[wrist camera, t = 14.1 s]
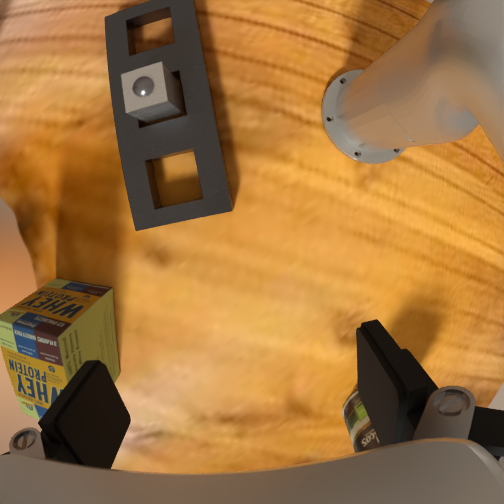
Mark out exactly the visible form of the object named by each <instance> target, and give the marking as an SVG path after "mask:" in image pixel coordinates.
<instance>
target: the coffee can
mask: <svg viewBox="0 0 504 504" xmlns="http://www.w3.org/2000/svg"><path fill="white" fill-rule="evenodd" d="M342 414H343V418H344V420H345V423H346V426H347V429H348V432H349V435H350V438H351V441H352V444H353V447H354V450H355V453H358V452H362V451H367V450H371V449H375V448H379V447H381V445H380V442H379V440H378V438H377V435H376V433H375V431H374V428H373V426H372V424H371V421H370V419H369V417H368V414H367V412H366V410H365V408H364V405H363V403H362V401H361V399H360V396H359V393H358V390H357V391H356V392H354V393H353V394H352V395H351V396H350V397H349V398H348V399H347V401H346V402H345V404H344V406H343V410H342Z"/></svg>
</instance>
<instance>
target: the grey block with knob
mask: <svg viewBox="0 0 504 504" xmlns="http://www.w3.org/2000/svg"><path fill="white" fill-rule="evenodd" d="M121 79H122V87H123V95H124V103H125V110H126V113H127V114H129V115H131V116H134V117H136V118H138V119H140V120H143V121H145V122H147V123H149V124H151V125H153V124H157V123H160V122H164V121H168V120H172V119H176V118H179V117H183V116H186V113H185V107H184V101H183V96H182V90H181V84H180V83H179V81H178V80H177V79H176V78H175V77H174V75H173V74H172V73H171V72H170V71H169V70H168V68H167V67H166V66H165V65H164V64H163V62H159V63H155V64H152V65H149V66H145V67H142V68H139V69H136V70H133V71H130V72H127V73H124V74H121Z"/></svg>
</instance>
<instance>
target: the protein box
mask: <svg viewBox="0 0 504 504" xmlns="http://www.w3.org/2000/svg"><path fill="white" fill-rule="evenodd" d="M0 345H1V349H2V353H3V357H4V361H5V364H6V367H7V370H8V374H9V376H10V379H11V382H12V385H13V387H14V391H15V393H16V396H17V399H18V402H19V404H20V406H21V409H22V411H23V413H24V414H27V415H29V416H32V417H34V418H36V419H39V420H40V419H41V418H42V417H43V415H44V414H45V413H46V411H47V410H48V409H49V407H50V406H51V405H52V403H53V402H54V401H55V399H56V398H57V397H58V395H59V394H60V393H61V391H62V390H63V389H64V388H65V386H66V385H67V384H68V382H69V381H70V380H71V379H72V377H73V376H74V375H75V373H76V372H77V371H78V370H79V368H80V367H81V366H82V365H83V363H84V362H85V361H87V360H100V361H101V362H102V363H104V364H105V365H106V366H107V369H108V371H109V373H110V375H111V378H112V380H113V382H114V383H115V381H116V380H117V378H118V377H119V375H120V368H119V360H118V350H117V340H116V329H115V316H114V299H113V288H112V287H105V286H99V285H92V284H87V283H81V282H76V281H70V280H64V279H58V278H56V279H54V280H53V281H51V282H49V283H48V284H46V285H45V286H43V287H42V288H40V289H38V290H37V291H35V292H34V293H32V294H31V295H29V296H28V297H26V298H25V299H23V300H22V301H20V302H19V303H17V304H15V305H14V306H13V307H11V308H10V309H8V310H7V311H5V312H4V313H2V314H0Z"/></svg>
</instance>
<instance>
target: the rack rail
mask: <svg viewBox="0 0 504 504" xmlns="http://www.w3.org/2000/svg"><path fill="white" fill-rule="evenodd" d="M169 17H171V18H172V25H173V32H174V39H175V43H172V44H168V45H164V46H161V47H158V48H154V49H151V50H148V51H145V52H141V53H138V54H136V51H135V42H134V32H133V28H136V27H139V26H142V25H145V24H149V23H152V22H155V21H158V20H162V19H165V18H169ZM105 34H106V49H107V61H108V72H109V81H110V90H111V99H112V107H113V114H114V121H115V128H116V134H117V140H118V147H119V152H120V158H121V164H122V169H123V174H124V180H125V185H126V189H127V194H128V199H129V204H130V208H131V213H132V217H133V222H134V226H135V230H136V231H139V230H143V229H148V228H153V227H157V226H162V225H166V224H171V223H176V222H181V221H185V220H190V219H195V218H200V217H205V216H210V215H215V214H220V213H225V212H230V211H233V209H234V206H233V201H232V196H231V191H230V186H229V181H228V176H227V170H226V165H225V160H224V155H223V150H222V145H221V139H220V134H219V129H218V124H217V118H216V113H215V108H214V102H213V97H212V92H211V87H210V81H209V76H208V70H207V65H206V60H205V54H204V49H203V43H202V38H201V32H200V27H199V21H198V16H197V10H196V5H195V0H151V1H148V2H145V3H142V4H139V5H136V6H133V7H130V8H127V9H125V10H122V11H119V12H117V13H114V14H111V15H109V16H106V17H105ZM159 62H163V64H164V65H165V66H166V67H167V68H168V70H169V71H170V72H171V73H172V74H173V75H174V77H175V78H176V79H178V78H181V82H182V88H183V94H184V100H185V105H186V111H187V116H183V117H179V118H176V119H172V120H168V121H164V122H160V123H157V124H153V125H150V126H146V123H145V121H143V120H140V119H138V118H136V117H134V116H131V115H129V114H127V113H126V110H125V103H124V95H123V87H122V79H121V74H124V73H127V72H130V71H133V70H136V69H139V68H142V67H145V66H149V65H152V64H155V63H159ZM192 151H194V154H195V160H196V165H197V170H198V175H199V180H200V185H201V190H202V195H203V198H201V199H196V200H191V201H187V202H182V203H178V204H173V205H169V206H164V207H161V203H160V198H159V193H158V188H157V183H156V178H155V173H154V168H153V163H152V161H155V160H159V159H163V158H167V157H171V156H175V155H179V154H183V153H187V152H192Z"/></svg>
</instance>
